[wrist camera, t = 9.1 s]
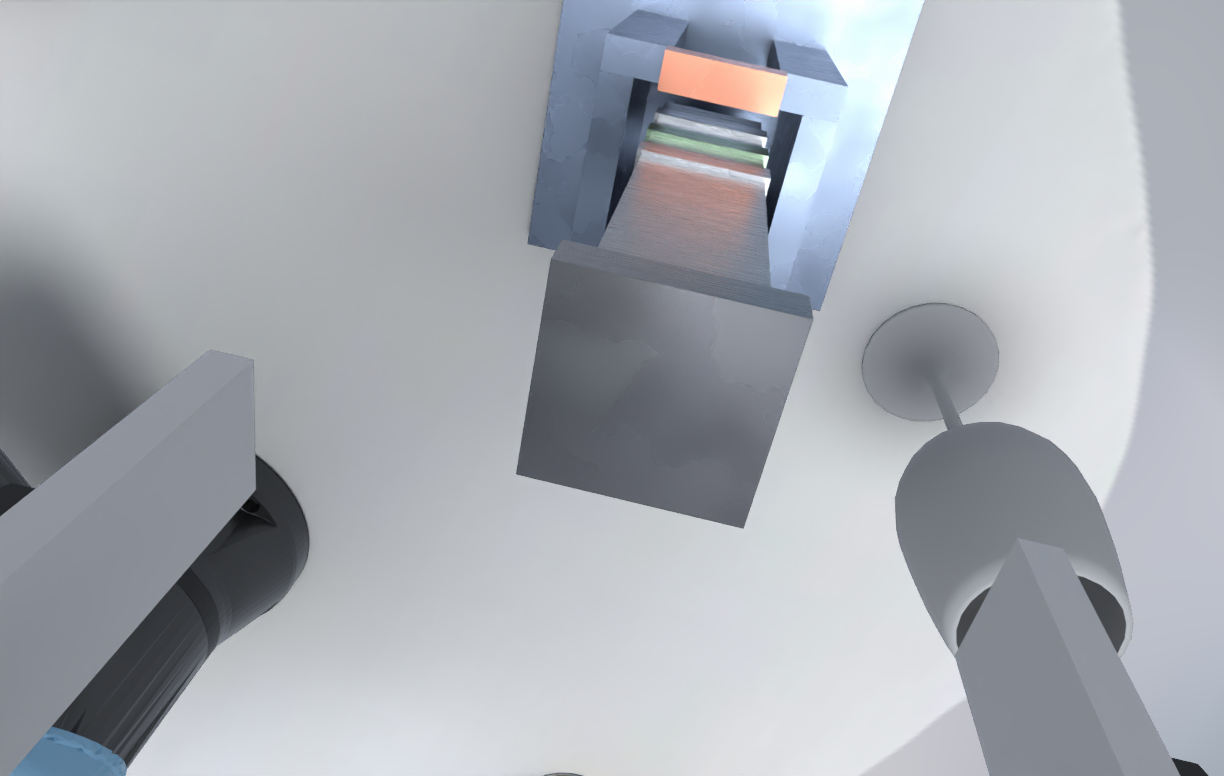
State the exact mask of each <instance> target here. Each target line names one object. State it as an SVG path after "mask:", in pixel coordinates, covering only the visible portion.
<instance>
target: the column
mask: <svg viewBox="0 0 1224 776" xmlns="http://www.w3.org/2000/svg"><path fill="white" fill-rule="evenodd" d="M766 141H767V131H764V130H762V126H761V123H760V122H756V121H751V120H747V119H742V118H738V117H733V116H729V115H725V114H720V113H716V112H711V111H707V110H702V109H698V108H693V107H689V106H684V105H680V104H675V103H671V102H666V103H665V105H664V107H663V108H661V107H658V109H657V111H656V113H655V117H654V122H653V123H650V125H649V127H648V129H647V133H646V138H645V141H641V143H640V145H639V147H638V149H637V154H636V159H635V164H634V169H633V173H632V175H631V177H630V180H629V182H628V184H627V186H626V188H625V190H624V192H623V194H622V197H621V199H620V201H619V203H618V205H617V207H616V209H615V212H614V214H613V216H612V218H611V220H610V222H609V224H608V226H607V229H606V231H605V233H604V235H603V237H602V239H601V241H600V244H599V246H598V247H594V246H590V245H585V244H581V243H577V242H572V241H568V240H563V239H562V241H561V243H560V245H559V246H558V248H557V250H556V251H555V253H554V255H553V256H552V258H551V262H550V268H549V274H548V280H547V287H546V293H545V299H544V305H543V311H542V318H541V324H540V330H539V336H538V342H537V348H536V355H535V361H534V367H533V373H532V379H531V385H530V392H529V398H528V404H527V410H526V416H525V422H524V429H523V435H522V441H521V447H520V453H519V459H518V466H517V472H516V474H517V475H521V476H525V477H530V478H534V479H538V480H542V481H546V482H551V483H555V484H559V485H563V486H567V487H571V488H576V489H580V490H584V491H588V492H592V493H597V494H601V495H605V496H609V497H613V498H618V499H622V500H626V501H630V502H634V503H638V504H643V505H647V506H651V507H655V508H659V509H664V510H668V511H672V512H676V513H680V514H684V515H689V516H693V517H697V518H701V519H705V520H710V521H714V522H718V523H722V524H726V525H731V526H735V527H739V528H744V525H745V522H746V519H747V516H748V513H749V510H750V507H751V504H752V501H753V498H754V495H755V492H756V489H757V486H758V483H759V480H760V477H761V474H762V471H763V468H764V465H765V462H766V459H767V456H768V453H769V450H770V447H771V444H772V441H773V438H774V435H775V432H776V429H777V426H778V423H779V420H780V417H781V414H782V411H783V408H784V405H785V402H786V399H787V396H788V393H789V390H790V387H791V384H792V381H793V378H794V375H795V372H796V369H797V366H798V363H799V360H800V357H801V354H802V351H803V348H804V345H805V342H806V339H807V336H808V333H809V330H810V327H811V324H812V321H813V315H812V309H811V303H810V296H807V295H803V294H799V293H794V292H790V291H786V290H781V289H777V288H773V287H771V279H770V262H769V245H768V228H767V211H766V194H767V191H768V187H769V184H770V180H771V176H770V169H766V165H767V162H768V158H769V152H768V149H767V148H765V145H766Z"/></svg>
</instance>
